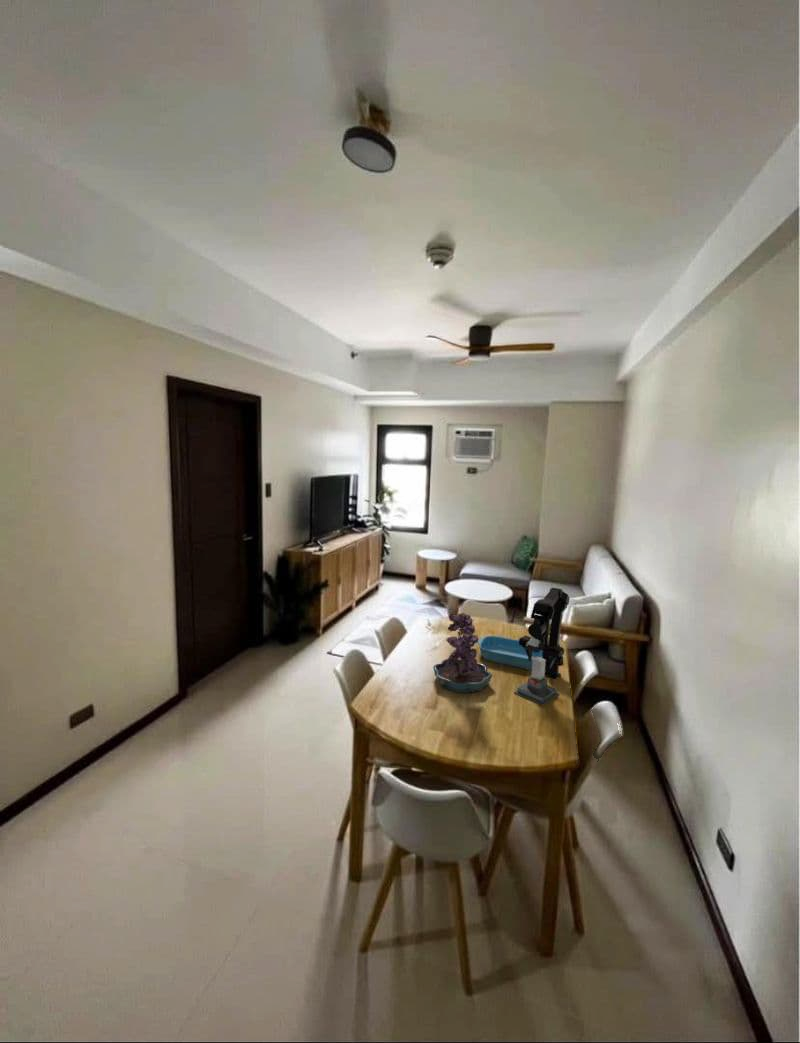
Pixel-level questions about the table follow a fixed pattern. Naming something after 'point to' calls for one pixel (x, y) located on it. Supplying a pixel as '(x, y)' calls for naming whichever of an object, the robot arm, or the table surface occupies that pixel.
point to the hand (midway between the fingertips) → (539, 664)
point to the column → (538, 669)
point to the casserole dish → (506, 651)
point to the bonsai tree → (462, 659)
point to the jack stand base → (537, 691)
